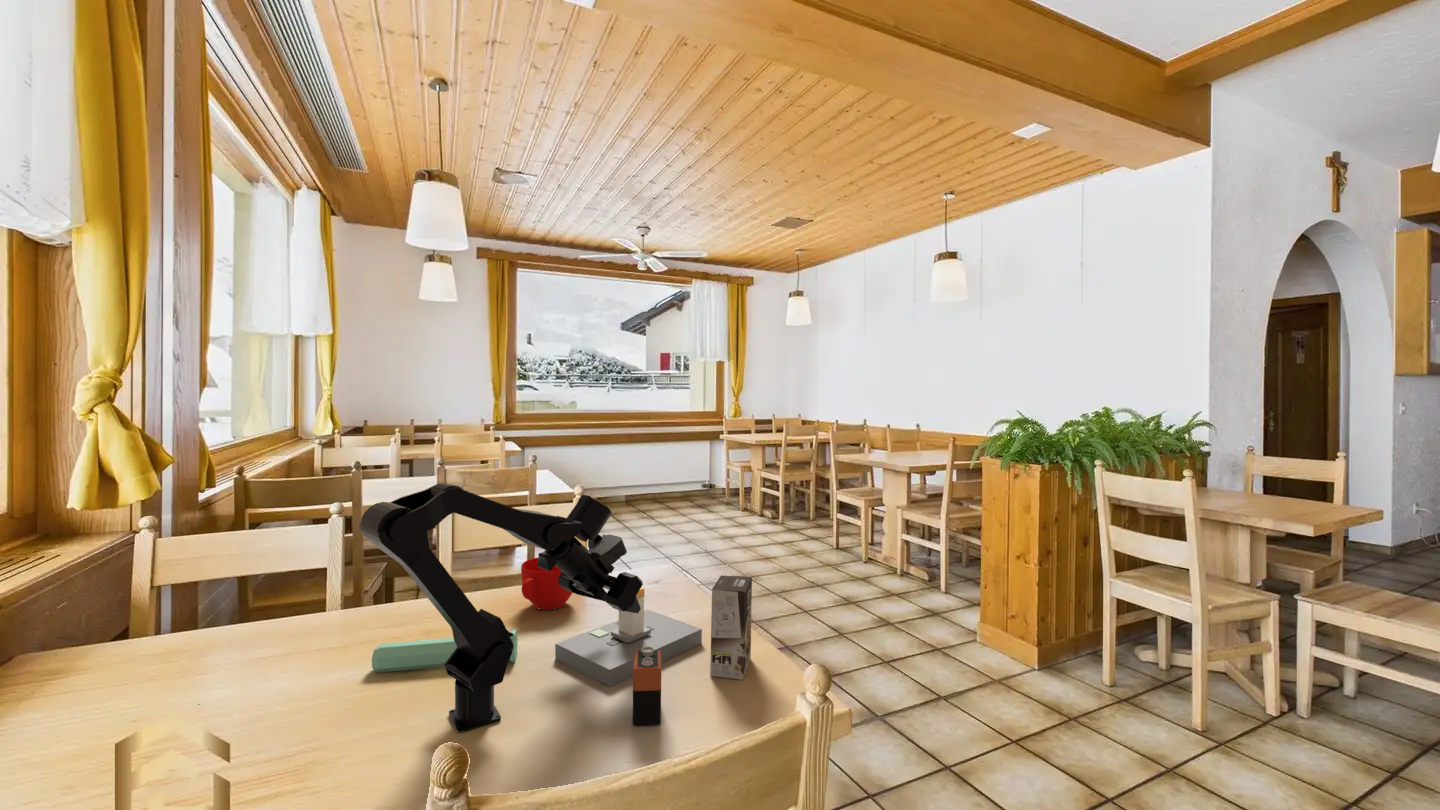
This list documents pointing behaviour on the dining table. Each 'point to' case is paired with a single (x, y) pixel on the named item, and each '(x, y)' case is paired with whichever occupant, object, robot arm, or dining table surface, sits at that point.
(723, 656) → the coffee box
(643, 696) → the battery
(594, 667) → the panel
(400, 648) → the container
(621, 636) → the breaker handle
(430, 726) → the dining table surface
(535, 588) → the ceramic cup
